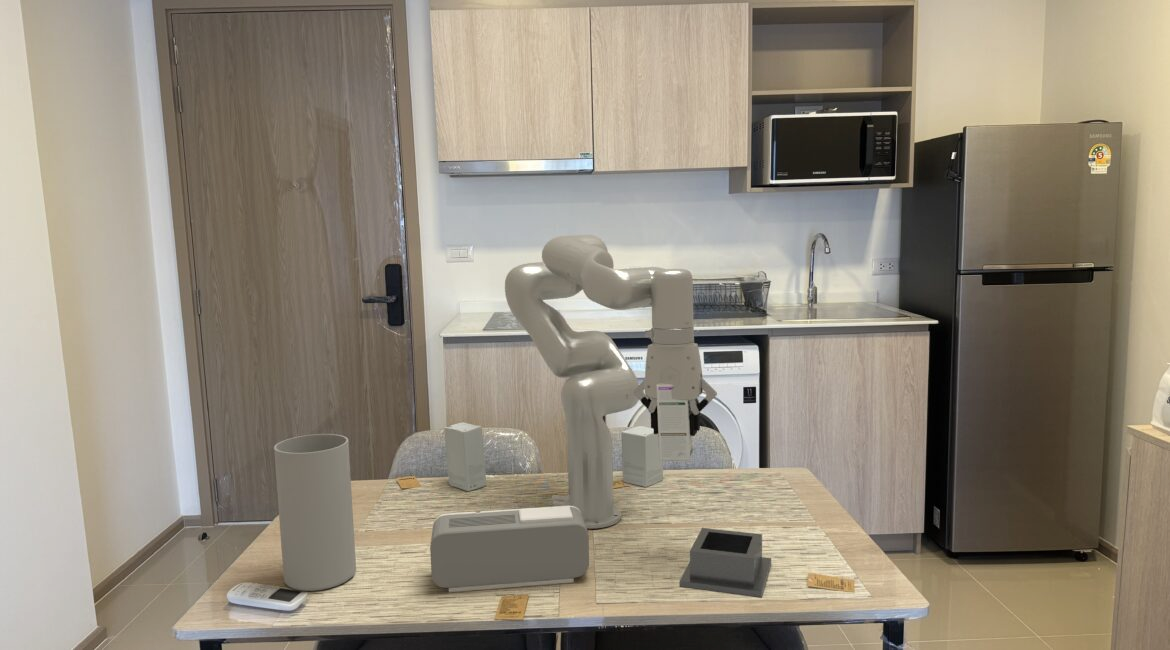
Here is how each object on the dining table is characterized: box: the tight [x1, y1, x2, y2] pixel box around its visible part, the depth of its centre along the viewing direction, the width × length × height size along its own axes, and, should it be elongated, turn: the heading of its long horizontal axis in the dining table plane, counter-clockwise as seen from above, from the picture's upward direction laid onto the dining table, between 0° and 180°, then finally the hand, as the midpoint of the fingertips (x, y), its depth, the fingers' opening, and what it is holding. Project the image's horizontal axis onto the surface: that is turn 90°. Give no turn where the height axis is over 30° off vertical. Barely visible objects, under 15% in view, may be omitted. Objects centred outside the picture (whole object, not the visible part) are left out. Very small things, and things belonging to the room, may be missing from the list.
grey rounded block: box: [429, 506, 590, 593], centre depth 145 cm, size 27×9×12 cm, turn 98°
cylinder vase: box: [273, 433, 357, 592], centre depth 145 cm, size 12×12×25 cm
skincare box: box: [444, 421, 487, 492], centre depth 195 cm, size 8×6×15 cm
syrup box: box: [656, 383, 694, 462], centre depth 149 cm, size 6×6×14 cm
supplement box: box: [620, 425, 664, 488], centre depth 196 cm, size 7×7×13 cm
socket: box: [679, 527, 772, 598], centre depth 144 cm, size 14×14×6 cm
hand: (675, 432), depth 150 cm, fingers closed on syrup box, 6 cm apart
